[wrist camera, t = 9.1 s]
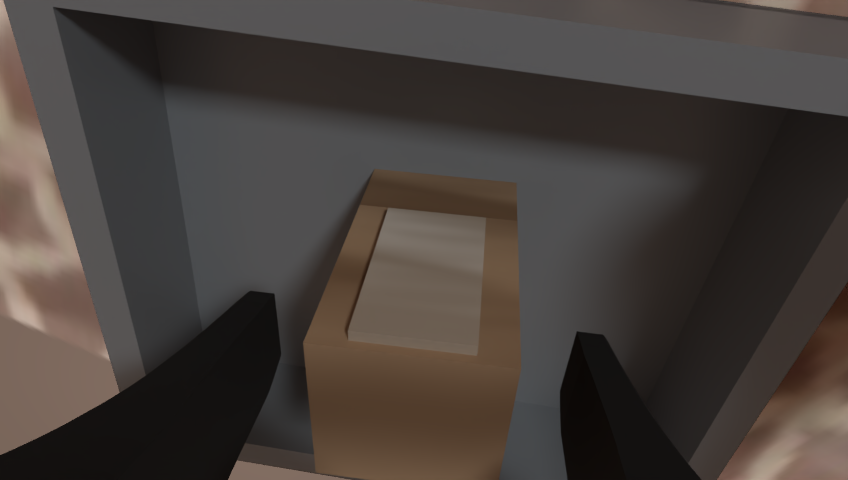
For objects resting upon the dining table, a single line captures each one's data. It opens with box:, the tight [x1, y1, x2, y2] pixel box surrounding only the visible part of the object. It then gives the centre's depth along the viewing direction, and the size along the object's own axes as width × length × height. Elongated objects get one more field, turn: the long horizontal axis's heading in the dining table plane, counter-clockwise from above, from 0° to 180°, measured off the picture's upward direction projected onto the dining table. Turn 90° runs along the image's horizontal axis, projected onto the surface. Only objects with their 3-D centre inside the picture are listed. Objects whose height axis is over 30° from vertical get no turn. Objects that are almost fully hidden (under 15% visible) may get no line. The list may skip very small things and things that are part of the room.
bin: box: [4, 0, 848, 480], centre depth 16 cm, size 18×15×4 cm
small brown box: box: [303, 169, 521, 480], centre depth 15 cm, size 4×4×7 cm
